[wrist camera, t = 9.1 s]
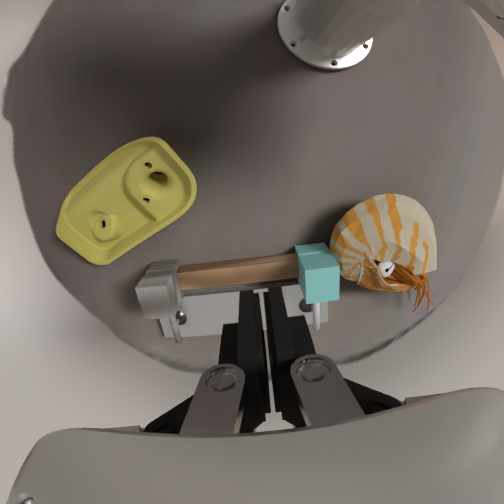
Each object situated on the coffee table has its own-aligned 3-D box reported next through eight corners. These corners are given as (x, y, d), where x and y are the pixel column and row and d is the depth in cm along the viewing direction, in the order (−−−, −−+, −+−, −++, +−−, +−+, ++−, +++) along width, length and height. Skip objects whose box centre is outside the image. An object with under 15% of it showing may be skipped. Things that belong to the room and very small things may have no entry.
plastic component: (100, 270, 38) (48, 229, 31) (108, 235, 43) (64, 196, 36) (213, 197, 33) (159, 133, 27) (209, 166, 39) (165, 111, 32)
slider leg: (294, 245, 39) (304, 269, 32) (323, 242, 39) (339, 264, 32) (299, 316, 43) (307, 348, 36) (324, 313, 43) (337, 343, 36)
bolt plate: (155, 295, 42) (153, 299, 41) (325, 276, 41) (327, 280, 40) (167, 333, 45) (165, 337, 43) (326, 317, 44) (327, 321, 43)
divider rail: (152, 261, 40) (134, 287, 33) (332, 240, 39) (349, 263, 32) (171, 327, 44) (159, 360, 37) (332, 311, 44) (346, 342, 36)
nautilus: (439, 276, 42) (367, 323, 46) (397, 163, 35) (306, 221, 38) (464, 301, 35) (383, 355, 39) (428, 175, 28) (320, 245, 31)
